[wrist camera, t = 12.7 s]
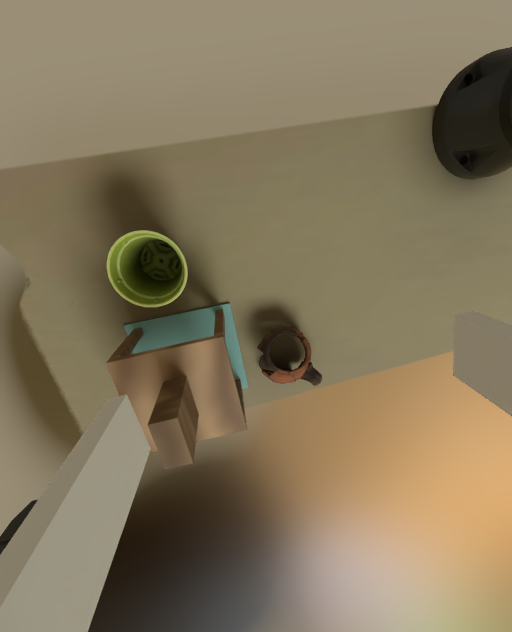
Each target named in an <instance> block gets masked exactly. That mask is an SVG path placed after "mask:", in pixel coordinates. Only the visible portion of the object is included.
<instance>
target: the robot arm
mask: <svg viewBox="0 0 512 632" xmlns="http://www.w3.org/2000/svg"><path fill="white" fill-rule="evenodd" d="M433 140H434V146H435V150H436V153H437V156H438V158H439V160H440V162H441V163H442V165H443V166H444V167H445V168H446V169H447V170H448V171H449V172H450V173H452V174H454V175H455V176H458V177H461V178H465V179H476V178H482V177H487V176H492V175H495V174H498V173H500V172H503V171H505V170H507V169H508V168H510V167H512V47H510V48H505V49H501V50H497V51H494V52H491V53H489V54H486V55H484V56H483V57H481V58H479V59H478V60H476V61H475V62H473V63H471V64H470V65H468V66H467V67H465V68H464V69H463V70H462V71H460V72H459V73H458V74H457V75H456V76H455V77H454V79H453V80H452V81H451V82H450V84H449V85H448V87H447V88H446V90H445V91H444V93H443V95H442V97H441V99H440V102H439V104H438V107H437V110H436V113H435V118H434V125H433ZM453 376H455V377H456V378H458V379H459V380H461V381H462V382H463V383H465V384H467V385H468V386H469V387H471V388H472V389H474V390H475V391H476V392H478V393H479V394H481V395H482V396H484V397H485V398H486V399H488V400H489V401H491V402H492V403H494V404H495V405H497V406H498V407H499V408H501V409H502V410H504V411H505V412H507V413H508V414H509V415H511V416H512V325H509V324H506V323H504V322H501V321H498V320H496V319H493V318H490V317H488V316H485V315H482V314H480V313H477V312H474V311H472V312H467V313H463V314H459V315H455V316H454V364H453ZM150 450H151V448H150V446H149V443H148V441H147V439H146V437H145V434H144V432H143V430H142V428H141V425H140V423H139V421H138V419H137V416H136V414H135V412H134V410H133V407H132V405H131V403H130V401H129V398H128V396H127V394H125V395H121V396H117V397H113V398H109V399H107V400H106V401H105V403H104V404H103V406H102V407H101V409H100V410H99V412H98V413H97V415H96V416H95V418H94V419H93V420H92V422H91V423H90V425H89V426H88V428H87V429H86V431H85V432H84V434H83V435H82V437H81V438H80V440H79V441H78V442H77V444H76V445H75V447H74V448H73V450H72V451H71V453H70V454H69V456H68V457H67V458H66V460H65V461H64V463H63V464H62V466H61V468H60V469H59V470H58V472H57V473H56V474H55V476H54V478H53V479H52V480H51V482H50V483H49V485H48V486H47V488H46V489H45V491H44V492H43V493H42V495H41V496H40V498H39V499H38V500H34V501H32V502H31V503H29V505H27V507H25V508H24V509H23V510H22V512H20V513H19V514H18V515H17V516H16V517H15V518H14V519H13V520H12V521H11V523H10V524H9V525H8V527H7V528H6V529H5V531H4V532H3V534H2V535H1V536H0V632H88V629H89V626H90V623H91V620H92V617H93V614H94V612H95V609H96V605H97V603H98V600H99V597H100V594H101V591H102V588H103V586H104V583H105V579H106V577H107V574H108V571H109V568H110V565H111V562H112V559H113V557H114V554H115V551H116V548H117V545H118V542H119V539H120V536H121V533H122V530H123V528H124V525H125V522H126V519H127V516H128V513H129V510H130V507H131V505H132V502H133V499H134V496H135V493H136V490H137V487H138V484H139V481H140V478H141V475H142V473H143V469H144V467H145V464H146V461H147V458H148V455H149V452H150Z"/></svg>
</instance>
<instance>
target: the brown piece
mask: <svg viewBox="0 0 512 632" xmlns="http://www.w3.org/2000/svg"><path fill="white" fill-rule="evenodd" d="M143 335H144V333H143V330H142V328H141V327H140V328H136V329H133V331H132V332H131V333H130V334H129V335H128V337H127V338H126V339H125V340H124V342H123V343H122V344H121V345H120V346H119V348H118V349H117V350H116V351H115V353H114V354H113V355H112V356H111V357H110V359H109V360H108V361H107V362H106V365H107V367H108V370H109V372H110V374H111V377H112V379H113V381H114V384H115V386H116V389H117V391H118V393H119V396H121V395H125V394H127V396H128V398H129V401H130V403H131V405H132V407H133V410H134V412H135V414H136V416H137V419H138V421H139V423H140V425H141V428H142V430H143V432H144V434H145V437H146V439H147V441H148V443H149V446H150V448H151V450H150V452H149V453H152V452H156V451H158V453H159V455H160V457H161V460H162V463H163V465H164V467H165V470H167V469H171V468H175V467H179V466H183V465H187V464H191V463H193V460H194V452H195V444H196V442H198V441H202V440H206V439H210V438H214V437H218V436H222V435H227V434H230V433H235V432H239V431H243V430H246V429H247V426H246V418H245V409H244V401H243V393H242V385H241V380H240V379H238V380H235V378H234V374H233V370H232V366H231V363H230V359H229V355H228V351H227V347H226V343H225V316H224V312H223V309H222V310H217V311H215V326H214V336H210V337H206V338H202V339H197V340H193V341H188V342H184V343H179V344H175V345H171V346H166V347H162V348H157V349H153V350H148V351H144V352H140V353H135V354H131V355H130V353H131V352H132V350H133V349H134V348H135V346H136V345H137V343H138V342H139V340H140V339H141V337H142V336H143Z"/></svg>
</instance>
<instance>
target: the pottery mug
mask: <svg viewBox="0 0 512 632" xmlns="http://www.w3.org/2000/svg"><path fill="white" fill-rule="evenodd" d="M282 335H292V336H297V337H298V338H299V339H300V340H301V342H302V343H303V345H304V348H305V359H304V361H302V362H301V364H300V366H299V367H298V368H297V369H294V370H290V371H287V370H282V369H280V368H278V367H276V366H275V365H274V364H273V362H272V360H271V358H270V354H269V350H270V346H271V344H272V342H273V341H274V340H275V339H276V338H277V337H279V336H282ZM257 348H258V349H260V350H261V351H262V352H263V353H264V354H263V355H262V356H261V358H260V362H259V366H260V368H261V369H263V370H262V373H263V374H264V375H265V376H266V377H268V378H269V379H271V380H272V381H273V382H276V383H282V384H285V383H291V382H295V381H296V380H298V379H303V380H306V381H309V382H310V383H312V384H313V385H315V386H316V385H318V384H320V382H321V380H322V375H321V374H320V373H319V372H318V371H317V370H316V369H314V368H313V366H312V363H311V362H309V361H310V360H311V348H310V345H309V343H308V341H307V339H306V338H305V337H304V336H303V334H302V333H301V332H300V331H299V330H297V329H295V328H292V327H281V328H277V329H274V330H272V331H271V333H269V334H267V335H266V337H265V338H264V340H263V341H262V342H261V344H259V346H258V347H257ZM264 369H266V370H271V371H274V372H273V373H272V374H270V373H268V372H267V371H265V370H264Z"/></svg>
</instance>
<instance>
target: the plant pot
mask: <svg viewBox="0 0 512 632" xmlns="http://www.w3.org/2000/svg"><path fill="white" fill-rule="evenodd" d="M161 243H162V244H167V245H169V248H168V247H166V246H162V245H160V244H161ZM145 252H147V253H148V254H147V258H146V261H145V260H144V255H145ZM160 259H162V260H163V262H162V263H161V262H160ZM177 260H178V261H179V267H178V268H177V269H176V265H177ZM107 273H108V277H109V280H110V282H111V284H112V286H113V287H114V289H115V290H116V291H117V292H118V293H119V294H120V295H121V296H122V297H123V298H124V299H126V300H127V301H129V302H131V303H133V304H135V305H139V306H143V307H159V306H163V305H166V304H168V303H170V302H172V301H173V300H175V299H176V298H177V297H178V296H179V295H180V294H181V293H182V291H183V289H184V287H185V285H186V282H187V275H188V270H187V264H186V260H185V258H184V255H183V253H182V252H181V250H180V249H179V247H178V246H177V245H176V244H175V243H174V242H173V241H172V240H170V239H169V238H168V237H166V236H164V235H162V234H160V233H157V232H154V231H148V230H139V231H133V232H130V233H127V234H125V235H123V236H122V237H120V238H119V239H118V240H117V241H116V242H115V243H114V244H113V246H112V247H111V249H110V251H109V254H108V257H107ZM155 273H156V274H158V275H163V276H164V277H162V278H161V277H157V276H155V275H154V274H155Z"/></svg>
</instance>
